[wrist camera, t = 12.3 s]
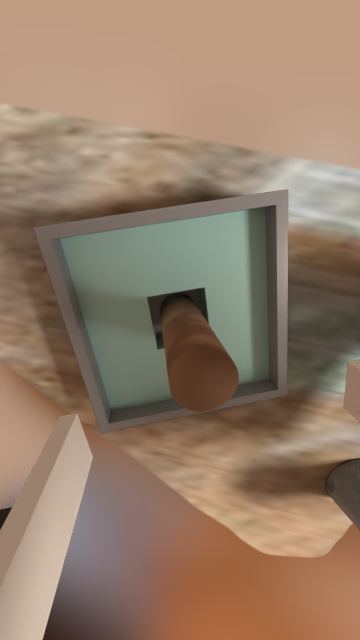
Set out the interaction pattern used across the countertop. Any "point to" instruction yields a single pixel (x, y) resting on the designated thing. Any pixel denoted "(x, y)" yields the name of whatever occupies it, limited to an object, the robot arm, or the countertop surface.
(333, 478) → the moka pot
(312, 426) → the countertop surface
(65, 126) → the countertop surface
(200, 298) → the bore box
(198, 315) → the walnut peg
